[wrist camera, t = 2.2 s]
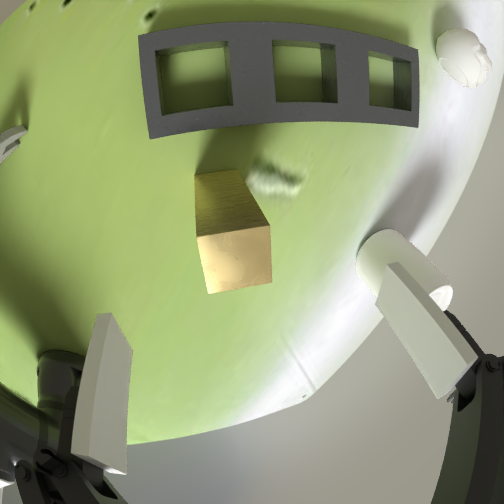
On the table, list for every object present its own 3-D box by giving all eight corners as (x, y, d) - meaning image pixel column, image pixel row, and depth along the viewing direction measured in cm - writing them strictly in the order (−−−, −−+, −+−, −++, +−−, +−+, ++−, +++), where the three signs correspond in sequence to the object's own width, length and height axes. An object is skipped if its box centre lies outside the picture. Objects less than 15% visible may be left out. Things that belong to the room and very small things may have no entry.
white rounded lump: (457, 90, 23) (501, 101, 17) (423, 73, 22) (472, 80, 15) (457, 40, 19) (500, 44, 12) (422, 19, 17) (469, 16, 11)
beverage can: (406, 224, 33) (465, 275, 23) (392, 272, 37) (438, 326, 27) (359, 228, 31) (419, 290, 21) (347, 281, 36) (392, 345, 26)
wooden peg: (240, 207, 27) (272, 282, 17) (200, 213, 26) (208, 293, 17) (236, 169, 25) (270, 225, 15) (194, 175, 24) (196, 237, 14)
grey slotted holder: (400, 122, 25) (418, 127, 22) (154, 134, 21) (149, 139, 19) (400, 50, 20) (417, 49, 17) (144, 42, 16) (138, 35, 14)
